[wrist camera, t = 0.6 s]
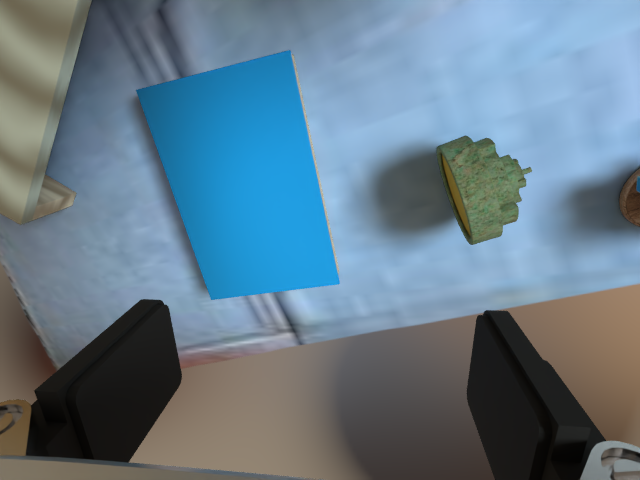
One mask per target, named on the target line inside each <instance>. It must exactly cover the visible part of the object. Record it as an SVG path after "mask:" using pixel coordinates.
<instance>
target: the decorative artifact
mask: <svg viewBox="0 0 640 480" xmlns="http://www.w3.org/2000/svg"><path fill="white" fill-rule="evenodd" d="M436 151H437V159H438V164H439V168H440V172H441V176H442V179H443V183H444V186H445V189H446V192H447V195H448V198H449V201H450V204H451V206H452V209H453V212H454V214H455V217H456V219H457V221H458V224H459V226H460V228H461V230H462V232H463V234H464V236H465V238H466V240H467V241H468V243H469V244H471V245H473V244H477V243H480V242H483V241H486V240H490V239H493V238H496V237H499V236H501V235H502V231H503V225H506V224H509V223H512V222H515V221H517V219H518V212H519V210H518V206H517V205H516V203H517V202H520V201H521V200H522V199H521V197H520V195H519V188H522V187H525V186H526V179H525V178H524V174H527V173H529V172H532V169H531V168H530V167H529V168H526V169H523V170H522V169H521V167H520V165H519V164H518V160H517V159H513V160H512V158H511V157H510V156H509V155H506V156H503V157H501V158H500V157H499V156H498V154H497V153H496V148H495V143H494V142H493V141H492V140H491V139H489V138H485V139H482V140H480V141H477V142H473V141H472V140H471V139H470V138H469V137H468V136H463V137H461V138H458V139H456V140H453V141H450V142H448V143H445V144H443V145H440V146H438V147H437V150H436Z"/></svg>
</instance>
